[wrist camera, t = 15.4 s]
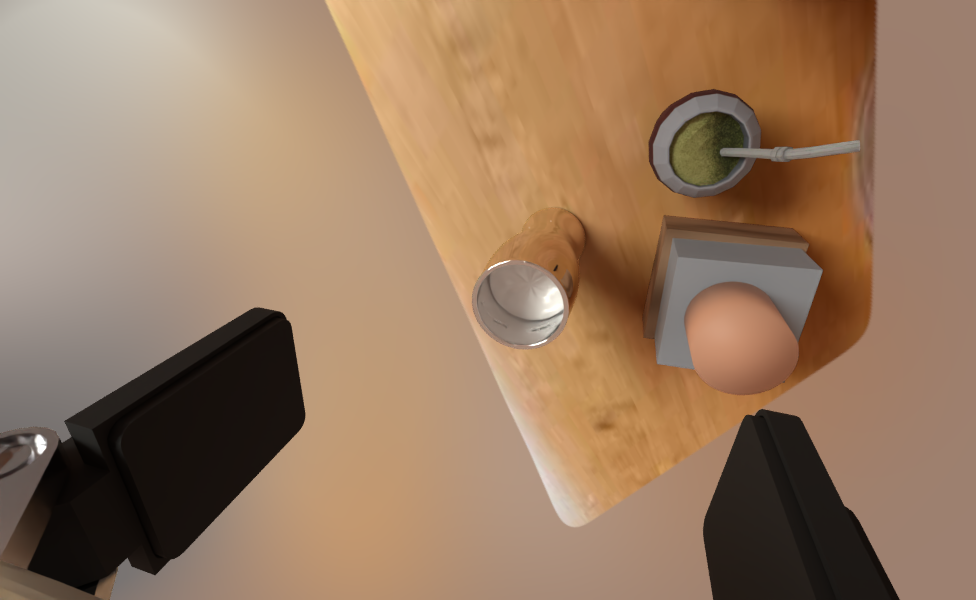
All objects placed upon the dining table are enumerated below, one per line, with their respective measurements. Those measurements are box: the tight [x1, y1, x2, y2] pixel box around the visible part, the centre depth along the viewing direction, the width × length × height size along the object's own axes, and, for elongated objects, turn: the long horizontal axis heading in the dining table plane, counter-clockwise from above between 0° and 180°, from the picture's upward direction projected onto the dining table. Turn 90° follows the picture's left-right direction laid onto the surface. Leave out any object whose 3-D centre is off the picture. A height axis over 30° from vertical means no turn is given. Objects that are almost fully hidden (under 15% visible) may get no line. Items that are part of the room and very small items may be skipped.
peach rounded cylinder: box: [684, 282, 799, 395], centre depth 31 cm, size 6×6×5 cm
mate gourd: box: [649, 89, 860, 198], centre depth 30 cm, size 8×8×15 cm
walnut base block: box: [643, 215, 809, 339], centre depth 39 cm, size 10×10×4 cm
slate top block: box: [654, 238, 823, 383], centre depth 35 cm, size 9×9×4 cm
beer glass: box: [472, 208, 585, 349], centre depth 37 cm, size 7×7×15 cm
